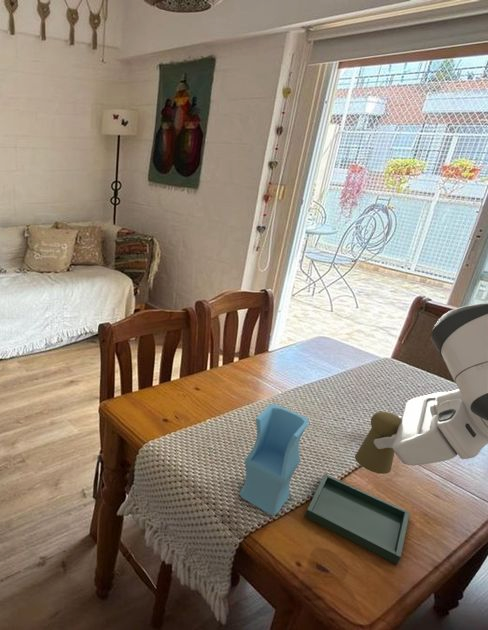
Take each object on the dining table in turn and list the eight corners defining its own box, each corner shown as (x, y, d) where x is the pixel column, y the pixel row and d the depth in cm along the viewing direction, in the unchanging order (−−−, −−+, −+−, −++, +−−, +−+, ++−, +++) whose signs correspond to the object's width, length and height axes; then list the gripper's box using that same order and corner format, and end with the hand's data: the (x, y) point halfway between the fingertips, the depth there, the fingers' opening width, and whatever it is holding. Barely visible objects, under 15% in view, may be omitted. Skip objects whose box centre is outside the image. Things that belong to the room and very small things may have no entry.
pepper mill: (347, 455, 88) (363, 409, 84) (370, 449, 90) (387, 404, 85) (374, 476, 83) (393, 429, 78) (398, 470, 84) (418, 423, 80)
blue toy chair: (237, 495, 93) (255, 418, 85) (253, 476, 98) (271, 402, 91) (274, 517, 88) (297, 437, 80) (289, 496, 93) (312, 419, 85)
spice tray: (406, 519, 89) (410, 512, 88) (397, 565, 79) (400, 557, 78) (322, 480, 98) (324, 473, 97) (304, 516, 89) (307, 509, 88)
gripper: (455, 377, 82) (377, 400, 92) (447, 426, 68) (357, 447, 78) (476, 406, 81) (396, 426, 91) (474, 463, 67) (379, 480, 77)
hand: (378, 436), depth 84 cm, fingers closed on pepper mill, 4 cm apart
